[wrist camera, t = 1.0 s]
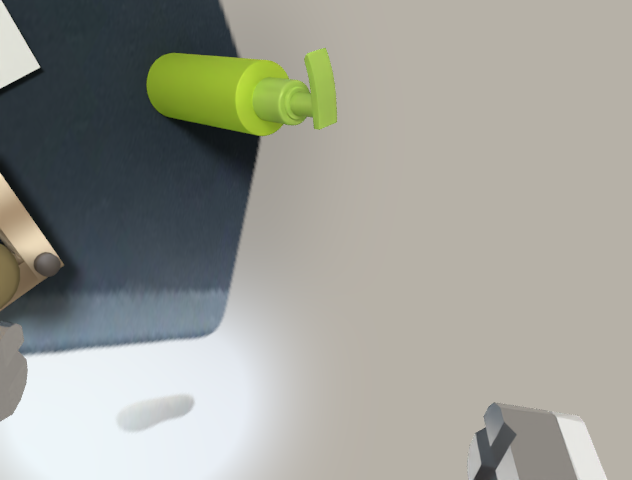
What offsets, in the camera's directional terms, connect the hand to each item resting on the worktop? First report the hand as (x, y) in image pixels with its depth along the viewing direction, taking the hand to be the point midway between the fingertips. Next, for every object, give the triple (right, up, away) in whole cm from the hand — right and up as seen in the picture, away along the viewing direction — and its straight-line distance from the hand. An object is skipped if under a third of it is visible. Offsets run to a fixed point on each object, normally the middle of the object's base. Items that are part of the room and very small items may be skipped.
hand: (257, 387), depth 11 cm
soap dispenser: (-12, +18, +46) cm, 51 cm away
